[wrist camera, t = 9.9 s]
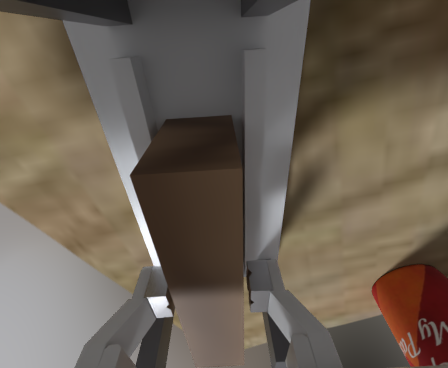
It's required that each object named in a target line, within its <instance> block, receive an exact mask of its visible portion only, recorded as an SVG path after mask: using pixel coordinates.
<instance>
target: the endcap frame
mask: <svg viewBox="0 0 448 368" xmlns="http://www.w3.org/2000/svg"><path fill="white" fill-rule="evenodd" d="M310 1H311V0H0V11H1V12H8V13H15V14H22V15H29V16H36V17H43V18H50V19H57V20H62V21H63V23H64V26H65V29H66V31H67V34H68V37H69V39H70V42H71V45H72V47H73V50H74V53H75V56H76V58H77V61H78V64H79V66H80V69H81V72H82V74H83V77H84V80H85V82H86V85H87V88H88V90H89V93H90V96H91V98H92V101H93V104H94V106H95V109H96V112H97V114H98V117H99V120H100V122H101V125H102V128H103V131H104V133H105V136H106V139H107V141H108V144H109V147H110V149H111V152H112V155H113V157H114V160H115V163H116V165H117V168H118V171H119V173H120V176H121V179H122V181H123V184H124V187H125V189H126V192H127V195H128V197H129V200H130V203H131V206H132V208H133V211H134V214H135V216H136V219H137V222H138V224H139V227H140V230H141V232H142V235H143V238H144V240H145V243H146V246H147V248H148V251H149V254H150V256H151V259H152V262H153V264H154V266H161V265H160V262H159V259H158V256H157V253H156V250H155V248H154V245H153V242H152V239H151V236H150V233H149V230H148V227H147V224H146V222H145V219H144V216H143V213H142V210H141V207H140V204H139V201H138V198H137V196H136V193H135V190H134V187H133V184H132V181H131V178H130V174H131V172H132V171H133V169H134V168H135V166H136V165H137V163H138V162H139V160H140V159H141V157H142V156H143V154H144V152H145V151H146V149H147V148H148V146H149V145H150V143H151V142H152V140H153V139H154V137H155V136H156V134H157V133H158V131H159V129H160V128H161V126H162V125H163V123H164V122H165V120H166V119H177V118H193V117H209V116H224V115H232V120H233V125H234V130H235V135H236V140H237V144H238V149H239V154H240V159H241V164H242V176H243V277H246V271H247V267H246V261H253V260H271V259H276V260H278V252H279V245H280V237H281V229H282V221H283V213H284V205H285V198H286V190H287V182H288V174H289V166H290V158H291V150H292V143H293V135H294V127H295V119H296V111H297V103H298V95H299V88H300V80H301V72H302V64H303V56H304V48H305V41H306V33H307V25H308V17H309V9H310ZM174 310H175V308H174ZM262 313H263V319H264V325H265V330H266V336H267V342H268V348H269V354H270V360H271V366H272V368H287V367H286V362H285V360H286V357H287V353H288V349H289V346H290V343H289V341H288V340H287V338H286V337H285V336H284V334H283V333H282V332H281V330H280V329H279V327H278V326H277V325H276V323H275V322H274V321H273V319H272V318H271V316H270V315H269V314H268V312H262ZM173 317H174V314H173ZM173 317H163V318H156V320H155V321H154V323H153V324H152V326H151V327H150V329H149V330H148V332H147V333H146V334H145V336H144V337H143V339H142V342H141V347H140V351H139V354H138V358H137V362H136V367H137V368H166V361H167V355H168V349H169V342H170V336H171V330H172V323H173Z"/></svg>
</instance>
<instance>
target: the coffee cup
mask: <svg viewBox="0 0 448 368" xmlns="http://www.w3.org/2000/svg"><path fill="white" fill-rule="evenodd" d="M372 294H373V296H374V298H375V300H376V302H377V304H378V306H379V308H380V310H381V312H382V314H383V316H384V318H385V319H386V321H387V323H388V325H389V327H390V329H391V331H392V333H393V335H394V336H395V338H396V340H397V342H398V344H399V346H400V348H401V349H402V351H403V353H404V355H405V357H406V358H407V360H408V362H409V364H410V366H411V367H416V366H435V365H448V278H446V277H445V276H444V275H443V274H442V273H441V272H440V271H438V270H437V269H436V268H434V267H433V266H430V265H424V264H417V265H409V266H405V267H401V268H398V269H395V270H393V271H391V272H389V273H387V274H385V275H384V276H382V277H381V278H380V279H378V280H377V281H376V282H375V284H374V285H373V287H372Z"/></svg>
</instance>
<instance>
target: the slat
mask: <svg viewBox="0 0 448 368" xmlns="http://www.w3.org/2000/svg"><path fill="white" fill-rule="evenodd" d="M130 178H131V181H132V184H133V187H134V190H135V193H136V196H137V198H138V201H139V204H140V207H141V210H142V213H143V216H144V219H145V222H146V224H147V227H148V230H149V233H150V236H151V239H152V242H153V245H154V248H155V250H156V253H157V256H158V259H159V262H160V265H161V268H162V271H163V274H164V277H165V279H166V282H167V285H168V288H169V291H170V294H171V297H172V300H173V303H174V305H175V308H176V311H177V314H178V317H179V320H180V323H181V326H182V329H183V332H184V334H185V337H186V340H187V343H188V346H189V349H190V352H191V355H192V357H193V360H194V363H195V366H196V368H202V367H220V366H237V365H244V287H243V176H242V164H241V159H240V154H239V149H238V144H237V140H236V135H235V130H234V125H233V120H232V115H224V116H209V117H193V118H177V119H166V120H165V122H164V123H163V125H162V126H161V128H160V129H159V131H158V133H157V134H156V136H155V137H154V139H153V140H152V142H151V143H150V145H149V146H148V148H147V149H146V151H145V152H144V154H143V156H142V157H141V159H140V160H139V162H138V163H137V165H136V166H135V168H134V169H133V171H132V172H131V174H130Z"/></svg>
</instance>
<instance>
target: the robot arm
mask: <svg viewBox="0 0 448 368" xmlns="http://www.w3.org/2000/svg"><path fill="white" fill-rule="evenodd" d="M246 267H247V271H246V277H247V288H248V291H249V304H250V311H251V312H268V314H269V315H270V316H271V318H272V319H273V321H274V322H275V323H276V325H277V326H278V327H279V329H280V330H281V332H282V333H283V334H284V336H285V337H286V338H287V340H288V341H289V343H290V346H289V349H288V353H287V357H286V360H285V362H286V367H287V368H343V366H342V364H341V361H340V359H339V356H338V354H337V351H336V349H335V346H334V343H333V341H332V338H331V335H330V333H329V331H328V330H327V329H326V328H325V327H324V326H323V325H322V324H321V323H320V322H319V321H318V320H317V319H316V318H315V317H314V316H313V315H312V314H311V313H310V312H309V311H308V310H307V309H306V308H305V307H304V306H303V305H302V304H301V303H300V302H299V301H298V299H297V298H296V297H295V296H294V295H293V294H292V293H291V292H290V291H289V290H285V288H284V284H283V280H282V277H281V273H280V270H279V266H278V262H277V260H276V259H271V260H253V261H246ZM174 308H175V305H174V303H173V300H172V297H171V294H170V291H169V288H168V285H167V282H166V279H165V277H164V274H163V271H162V268H161V266H150V267H143V268H142V270H141V273H140V276H139V279H138V282H137V285H136V287H135V290H134V293H133V297H132V299H128V300H127V301H126V303H125V304H124V305H123V306H122V307H121V308H120V309H119V310H118V311H117V312H116V313H115V314H114V315H113V316H112V317H111V318H110V319H109V320H108V321H107V322H106V323H105V324H104V325H103V326H102V327H101V328H100V330H99V331H98V332H97V333H96V334H95V335H94V336H93V337H92V338H91V339H90V340H89V341H88V342H87V343H86V344H85V345H84V348H83V350H82V352H81V354H80V357H79V359H78V361H77V363H76V366H75V368H137V367H136V366H135V364H134V363H133V362H132V360H131V359H130V356H131V355H132V353H133V352H134V350H135V349H136V347H137V346H138V344H139V343H140V342H141V340H142V339H143V337H144V336H145V334H146V333H147V332H148V330H149V329H150V327H151V326H152V324H153V323H154V321H155V320H156V318H163V317H173V314H174ZM398 368H448V365H435V366H416V367H398Z"/></svg>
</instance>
